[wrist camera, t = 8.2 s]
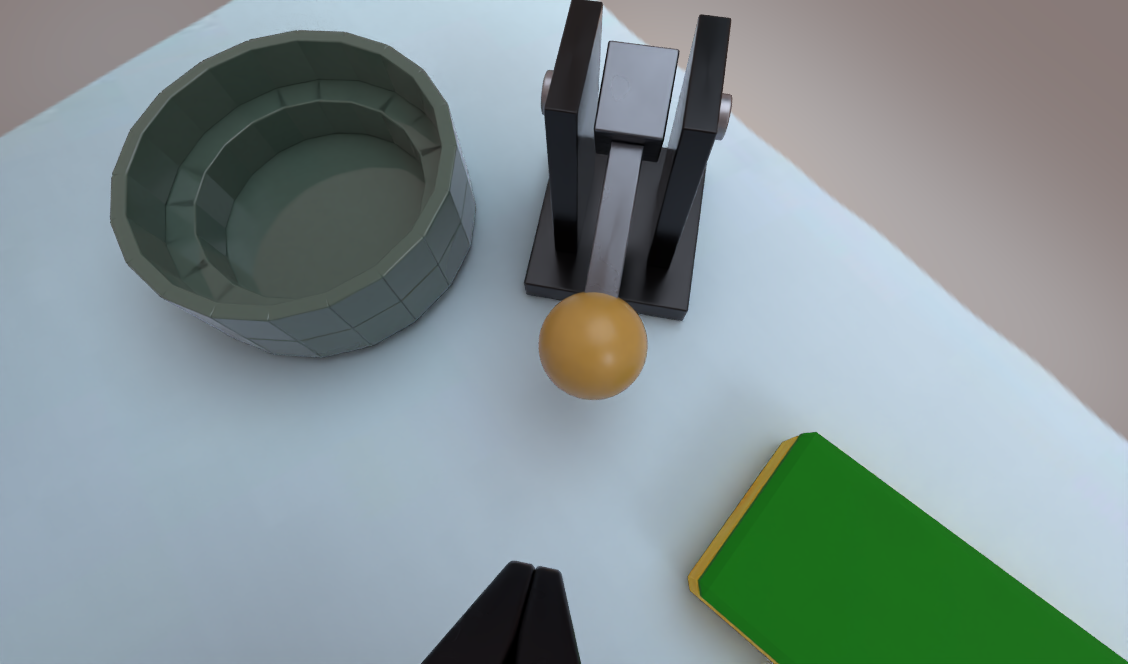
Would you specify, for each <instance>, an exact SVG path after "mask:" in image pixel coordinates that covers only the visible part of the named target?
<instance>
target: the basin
mask: <svg viewBox="0 0 1128 664" xmlns="http://www.w3.org/2000/svg"><path fill="white" fill-rule="evenodd" d="M112 175H113V176H112V178H111V208H110V220H111V221H110V223H111V226H112V228H113V231H114V233H115V236H116V238H117V241H118V243H119V246H120V249H121V251H122V254H123V256H124V259H125V261H126V263H127V264H128V266H129V267H130V268H131V269H132V270H133V271H134V272H135V273H136V274H137V275H138V276H139V277H140V278H141V279H142V280H143V281H145V282H146V283H147V284H148V285H149V286H150V287H151V288H152V289H153V290H154V291H155V292H156V293H157V294H158V295H159V296H160V297H161V298H163V299H164V300H166V301H168V302H170V303H171V304H173V305H175V306H177V307H179V308H180V309H182V310H184V311H186V312H188V313H189V314H191V315H193V316H195V317H197V318H198V319H200V320H202V321H204V322H206V323H207V324H209V325H211V326H213V327H215V328H216V329H218V330H220V331H222V332H224V333H225V334H227V335H229V336H231V337H233V338H235V339H237V340H239V341H242V342H244V343H247V344H249V345H252V346H254V347H256V348H259V349H261V350H264V351H266V352H269V353H271V354H276V355H289V356H305V357H328V356H332V355H336V354H340V353H344V352H348V351H353V350H357V349H361V348H365V347H369V346H373V345H375V344H377V343H379V342H380V341H382V340H384V339H386V338H387V337H389V336H391V335H393V334H395V333H396V332H398V331H400V330H402V329H403V328H405V327H407V326H409V325H410V324H412V323H414V322H416V320H418V319H419V318H420V317H421V316H422V314H423V313H424V312H425V311H426V310H427V309H428V308H429V307H430V306H431V305H432V304H433V303H434V302H435V301H436V300H437V299H438V298H439V297H440V296H441V295H442V294H443V293H444V292H445V291H446V290H447V289H448V288H449V286H451V284H452V282H453V280H454V278H455V276H456V274H457V272H458V270H459V268H460V266H461V264H462V263H463V261H464V259H465V257H466V255H467V253H468V251H469V249H470V246H471V240H472V233H473V226H474V219H475V212H476V203H475V199H474V195H473V190H472V186H471V181H470V177H469V172H468V169H467V165H466V162H465V159H464V156H463V152H462V149H461V146H460V143H459V139H458V136H457V132H456V129H455V126H454V122H453V119H452V116H451V113H450V109H449V106H448V104H447V102H446V101H445V99H444V98H443V96H442V95H441V93H440V92H439V91H438V89H437V88H436V86H435V85H434V83H433V82H432V80H431V79H430V78H429V76H428V75H427V73H426V72H425V71H424V70H423V69H422V68H421V67H419V66H418V65H417V64H415V63H414V62H412V61H411V60H409V59H408V58H406V57H405V56H404V55H402V54H401V53H399V52H398V51H396V50H395V49H393V48H392V47H391V46H388V45H386V44H383V43H380V42H377V41H373V40H370V39H367V38H364V37H360V36H357V35H354V34H351V33H347V32H346V33H345V32H335V31H306V30H298V31H297V30H295V31H290V32H285V33H280V34H275V35H270V36H265V37H261V38H256V39H251V40H249V41H245V42H243V43H241V44H239V45H236V46H234V47H232V48H230V49H227V50H225V51H223V52H221V53H218V54H216V55H214V56H212V57H210V58H207V59H205V60H203V61H202V62H200V63H198V64H197V65H196V66H194V67H193V68H192V69H190V70H189V71H188V72H186V73H185V74H184V75H183V76H181V77H180V78H179V79H177V80H176V81H175V82H173V83H172V84H171V85H169V86H168V87H167V88H165V89H164V90H163V91H162V93H159V94H158V96H157V97H156V98H155V99H154V101H153V102H152V103H151V104H150V106H149V107H148V108H147V109H146V111H145V112H144V113H143V114H142V116H141V117H140V118H139V119H138V121H137V122H136V123H135V124H134V126H133V127H132V128H131V129H130V132H129V134H128V136H127V138H126V141H125V143H124V146H123V148H122V151H121V153H120V156H119V158H118V161H117V163H116V166H115V168H114V171H113V173H112Z"/></svg>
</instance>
